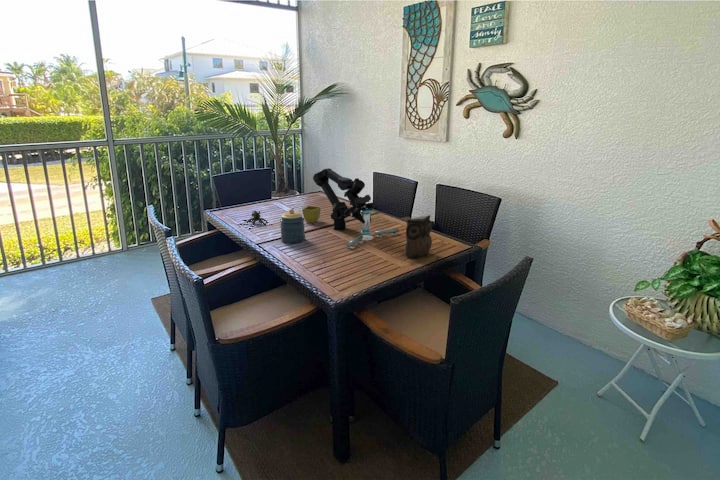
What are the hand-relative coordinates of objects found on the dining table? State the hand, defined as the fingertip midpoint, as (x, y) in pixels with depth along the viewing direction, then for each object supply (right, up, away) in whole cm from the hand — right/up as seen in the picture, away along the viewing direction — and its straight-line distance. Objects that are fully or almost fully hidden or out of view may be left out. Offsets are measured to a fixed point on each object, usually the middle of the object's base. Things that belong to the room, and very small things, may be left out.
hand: (367, 222), depth 216 cm
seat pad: (-1, -9, +4) cm, 9 cm away
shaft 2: (+11, -7, +8) cm, 15 cm away
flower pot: (-34, +2, +34) cm, 48 cm away
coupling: (-1, -6, +3) cm, 7 cm away
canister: (-40, -10, +1) cm, 42 cm away
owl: (+23, -17, -19) cm, 34 cm away
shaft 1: (-7, -12, -6) cm, 15 cm away
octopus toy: (-69, 0, +31) cm, 76 cm away
